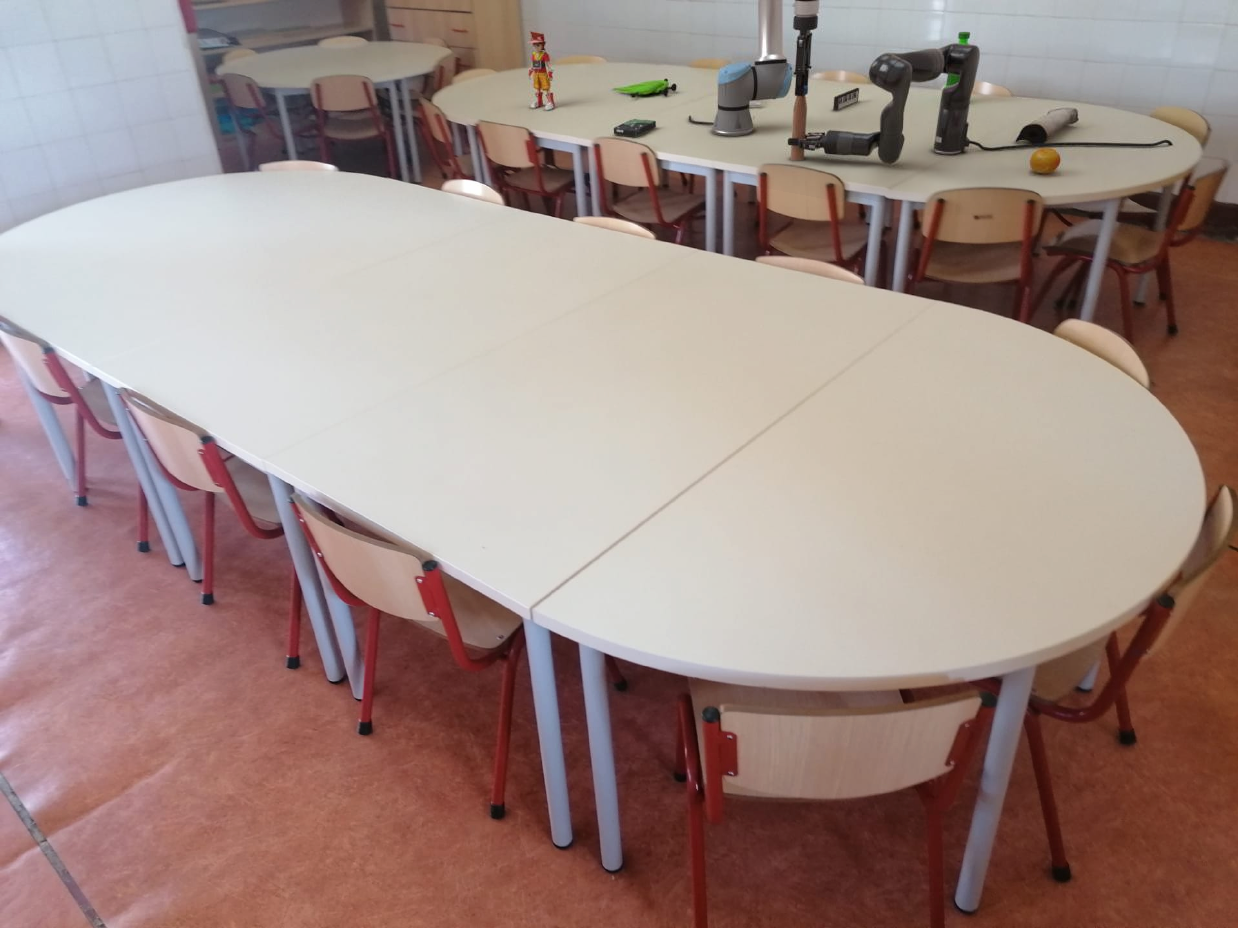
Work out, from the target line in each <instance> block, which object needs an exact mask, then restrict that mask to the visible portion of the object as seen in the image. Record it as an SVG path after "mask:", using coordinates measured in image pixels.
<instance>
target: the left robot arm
mask: <svg viewBox="0 0 1238 928" xmlns="http://www.w3.org/2000/svg"><path fill="white" fill-rule="evenodd" d="M783 3H784V1H783V0H757V20H758V28H757V30H758V33H757V34H758V55H757V57H756V58H755V59H754V65H753V66H752V65H751V63H750V62H748V61H742V62H741V61H739V62H737V61H736V62H732V63H729V64H728V63H727V64H726V65H723V66H722V67H720V69H719V70H718V75H717V111H716V114H715V118H714V120H713V122H712V121H700V120H699V121H698V120H693V119H692V116H691V115H688V121H689V122H690V123H692V124H697V125H706V126H709V125H710V126H712V133H713V134H715V135H717V136H721V137H741V136H746V135H750V134H752V133H754V127H755V126H754V122H753V121H754V120H755V116H753V118H752V115H751V111H750V108H749V102H750V101H766V100H767V101H768V100H776V99H782V98H785V97H786V96H787V95H788V94H789V92H790V89H791V86H792V81H793V75H795V83H794V84H795V86H794V96H795V97H797V96H804V85H805V86H808V87H809V74H810V70H811V69H812V65H811V64H812V63H811V59H812V58H811V55H812V40H813V32H811V31H814V30H817V28H818V23H819V16H818V14H819V13H820V12H819V11H820V0H794V2H793V3H792V7H793V8H794V9H793V11H794V12H793V14H794V16H793V22H792V23H793V24H792V28H793V30H794V31H799V35H797V37H796V50H795V51H796V55H795V66H794V67H795V68H794V72H793V66H792V64H791V63H789V62H788V57H787V56H786V55H785V54H784V53H783V52H784V51H783V49H784V47H783V45H784V43H783V42H784V41H783V38H784V37H783V30H784V29H783V28H784V27H783V22H784V21H783V17H784V16H783V14H784V13H783V11H784V10H783V9H784V8H783V6H784V5H783Z"/></svg>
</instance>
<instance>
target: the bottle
mask: <svg viewBox="0 0 1238 928" xmlns="http://www.w3.org/2000/svg"><path fill="white" fill-rule="evenodd" d="M806 95H807V94H806ZM806 95H804V96H795V100H794V104H793V108H792V109H793V111H792V126H791V127H792V129H791V138H798V139H800V138H801V139H805V134H807V133H806V131H807V117H808V116H807V115H808V103H807V97H806ZM803 145H805V143H803ZM790 146H791V147H790V160H791V161H797V162H798V161H803V160H805V149H800V148H799V146H793V145H790Z"/></svg>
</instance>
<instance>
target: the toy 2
mask: <svg viewBox="0 0 1238 928" xmlns="http://www.w3.org/2000/svg"><path fill="white" fill-rule="evenodd" d="M669 85H670V83H669V79H668V78H664V79H663V80H649V81H644V82H640V83H634V84H629V85H627V86H621V87H613V88H612V89H613V90H616V91H619V92H623V93H627V94H628V93H629V94H631V95H630V96H631V98H632V99H634V98H636V96H637V95H650V94H652V93H654V94H658V93H662V95H663V96H665V97H667V96H668V95H669V90H671V91H672V92H676V91H677V84H676V83H672V84H671V86H669Z"/></svg>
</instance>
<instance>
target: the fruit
mask: <svg viewBox="0 0 1238 928" xmlns="http://www.w3.org/2000/svg"><path fill="white" fill-rule="evenodd" d="M1061 160H1062V159H1061V156H1060V153H1059V151H1057V150H1055V149H1053V148H1050V147H1044V148H1039V149H1037V150H1035V151H1034V152H1033V153H1032V155H1031V156H1030V158H1029V167H1030V169H1031V171H1033V172H1035V173H1036V174H1051V173H1053V172H1055V171H1056V170H1057V169H1058V168H1059V166H1060V164H1061Z"/></svg>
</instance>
